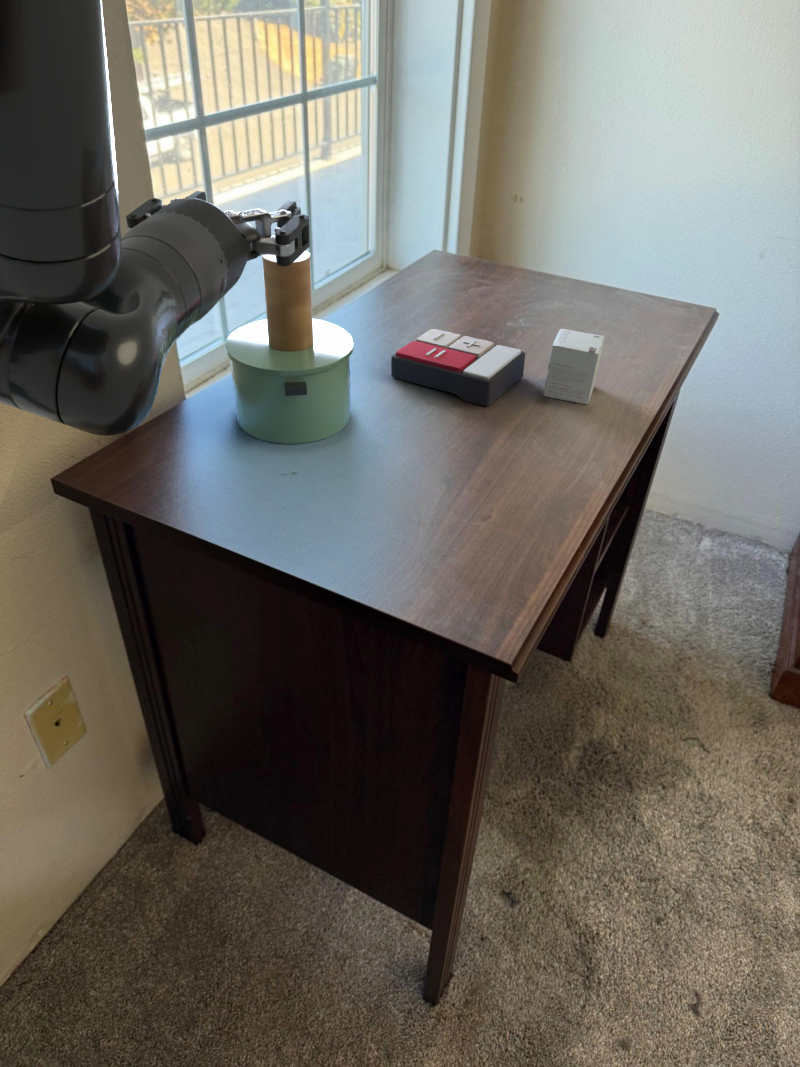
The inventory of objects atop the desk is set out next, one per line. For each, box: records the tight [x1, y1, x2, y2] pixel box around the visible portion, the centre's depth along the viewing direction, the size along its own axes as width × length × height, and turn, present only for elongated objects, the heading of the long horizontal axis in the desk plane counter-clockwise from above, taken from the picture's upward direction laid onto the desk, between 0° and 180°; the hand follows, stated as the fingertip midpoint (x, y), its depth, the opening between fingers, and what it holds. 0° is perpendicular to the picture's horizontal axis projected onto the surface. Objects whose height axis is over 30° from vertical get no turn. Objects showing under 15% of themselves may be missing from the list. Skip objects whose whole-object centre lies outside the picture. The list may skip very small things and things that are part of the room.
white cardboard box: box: [543, 328, 605, 405], centre depth 98 cm, size 6×6×7 cm
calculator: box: [390, 328, 526, 407], centre depth 101 cm, size 11×4×15 cm
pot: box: [224, 318, 355, 445], centre depth 90 cm, size 15×17×10 cm
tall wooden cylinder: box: [261, 250, 314, 351], centre depth 84 cm, size 5×5×10 cm
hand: (247, 207), depth 68 cm, fingers open, 8 cm apart
